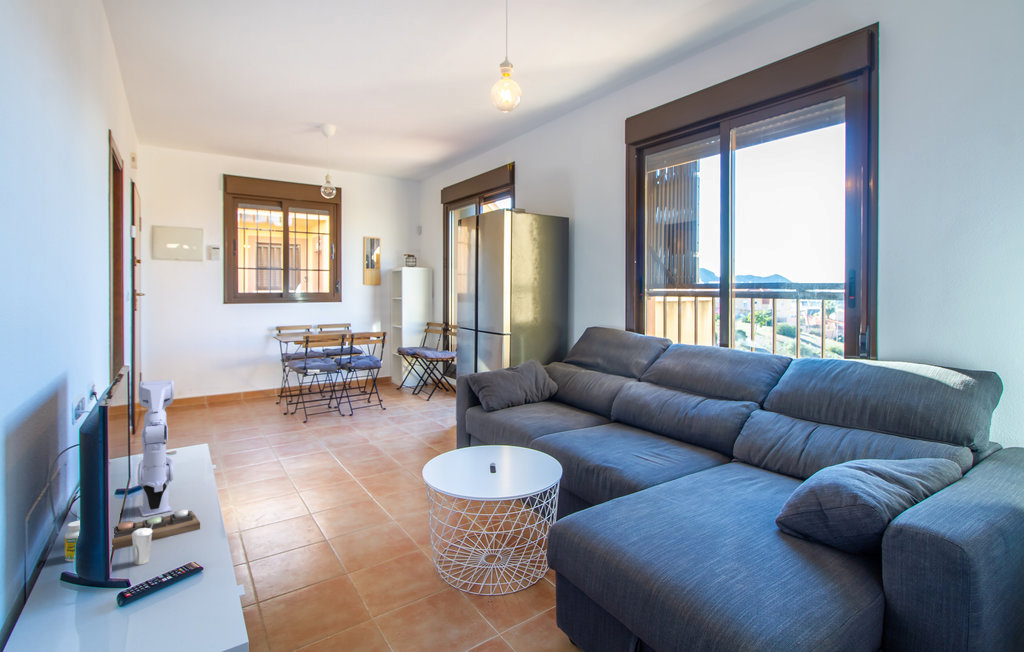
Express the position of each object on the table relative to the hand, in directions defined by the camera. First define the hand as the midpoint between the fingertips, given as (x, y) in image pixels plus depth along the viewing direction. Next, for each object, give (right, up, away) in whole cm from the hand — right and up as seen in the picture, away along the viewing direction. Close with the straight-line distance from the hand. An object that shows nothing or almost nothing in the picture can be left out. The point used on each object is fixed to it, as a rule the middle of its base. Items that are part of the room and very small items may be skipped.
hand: (154, 508), depth 154 cm
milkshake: (+9, -8, -17) cm, 21 cm away
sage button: (0, -5, 0) cm, 5 cm away
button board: (0, -7, 0) cm, 7 cm away
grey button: (+5, -4, +5) cm, 8 cm away
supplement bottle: (-10, -8, -16) cm, 20 cm away
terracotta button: (-5, -4, -5) cm, 8 cm away
